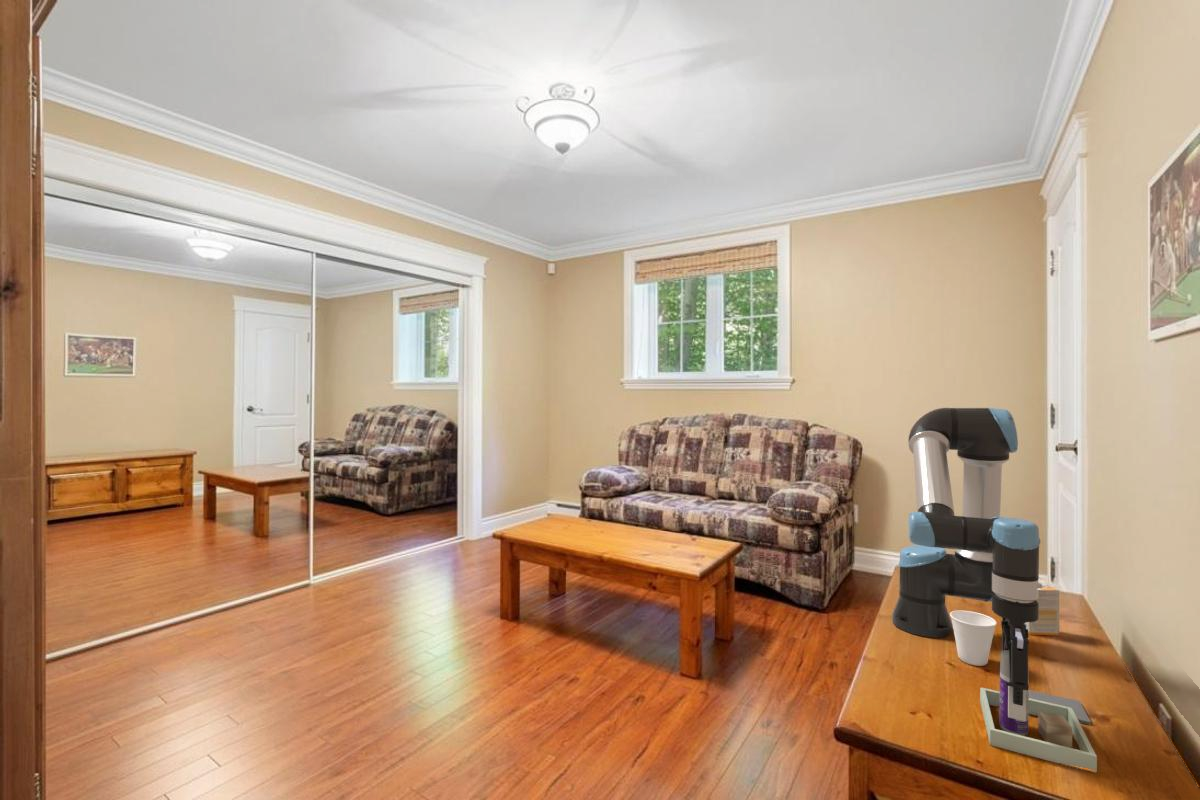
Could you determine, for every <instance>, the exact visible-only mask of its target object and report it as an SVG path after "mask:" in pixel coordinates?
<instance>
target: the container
mask: <svg viewBox="0 0 1200 800" xmlns="http://www.w3.org/2000/svg"><path fill="white" fill-rule="evenodd" d="M999 659H1000V660H999V661H1000V665H999V692H1000V707H999V714H998V715H999V716H998V718H999V727H1000V728H1001V729H1002V730H1003V731H1006V732H1009V733H1013V734H1017V735H1021V736H1025V737H1026V736H1028V734H1029V714H1028V706H1029V698H1030V697H1029V690H1030V688H1029V689H1028V691H1027V690H1026V721H1021V720H1017V719H1013V718H1009V717H1008V686H1007V685H1005V682H1009V681H1010V674H1009V650H1004V651H1002V650H1001V651H1000V658H999ZM1029 674H1030V673H1029V672H1028V686H1030V685H1029V684H1030V683H1029V682H1030V679H1029V678H1030V676H1029Z"/></svg>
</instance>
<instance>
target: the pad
mask: <svg viewBox="0 0 1200 800" xmlns="http://www.w3.org/2000/svg"><path fill="white" fill-rule="evenodd" d="M1029 698H1030V699H1035V700H1039V701H1044V702H1048V703H1052V704H1057V705H1061V706H1066V707H1070V708H1072V709H1073V711H1074V713H1075V715H1076V717H1077V719H1078V721H1079V723H1080V724H1084V723H1085V725H1088V724H1090V725H1089V726H1092V722H1091V719H1090V718H1089V716H1088V714H1087V712H1086V710H1085V708H1084V707H1083V705H1082V703H1081V701H1080V700H1078V699H1077V700H1076V699H1073V698H1068V697H1065V696H1059V695H1055V694H1049V693H1044V692H1040V691H1035V690H1030V689H1029Z"/></svg>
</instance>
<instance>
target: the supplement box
mask: <svg viewBox="0 0 1200 800" xmlns="http://www.w3.org/2000/svg"><path fill="white" fill-rule="evenodd" d="M1037 590H1038V599H1037V600H1036V601H1037V602H1038V603H1039V616H1038V620H1037V621H1035V622H1026V623H1024V625H1026V629H1028V635H1029V636H1031V635H1032V636H1034V635H1035V636H1037V635H1039V636H1058V637H1059V636H1060V590H1059V589H1058V588H1056V587H1053V586H1051V585H1049V584H1042V588H1037Z"/></svg>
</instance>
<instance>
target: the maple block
mask: <svg viewBox="0 0 1200 800" xmlns="http://www.w3.org/2000/svg"><path fill="white" fill-rule="evenodd" d="M1037 719H1038V720H1037V723H1038V724H1037V725H1038V726H1037V731H1038V732H1039V734H1040V736H1041V737H1042V738H1043V741H1045V742H1049V743H1053V744H1057V745H1061V746H1065V747H1069V748H1071V747H1072V748H1073V733H1072V726H1071V725H1070V724H1069V723H1068V722H1067V720H1066V719H1065V718H1064V717H1063V716H1061V715H1055V714H1049V713H1043V712H1038V716H1037Z"/></svg>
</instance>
